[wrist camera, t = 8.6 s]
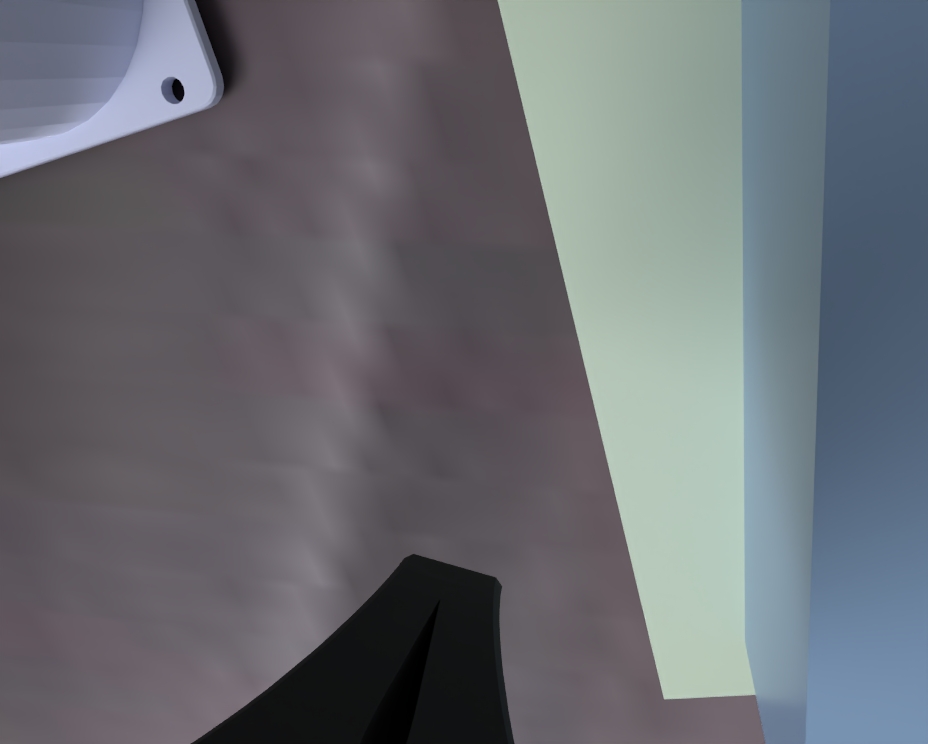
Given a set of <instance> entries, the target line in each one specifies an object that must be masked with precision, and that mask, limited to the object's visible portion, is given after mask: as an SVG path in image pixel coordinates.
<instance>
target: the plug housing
mask: <svg viewBox="0 0 928 744" xmlns="http://www.w3.org/2000/svg"><path fill="white" fill-rule="evenodd" d="M741 13H742V193H743V373H744V553H745V644H746V649H747V654H748V659H749V664H750V669H751V674H752V679H753V684H754V689H755V694H756V698H757V703H758V708H759V713H760V718H761V723H762V728H763V733H764V738H765V743H766V744H928V0H741Z"/></svg>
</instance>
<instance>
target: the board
mask: <svg viewBox="0 0 928 744" xmlns="http://www.w3.org/2000/svg"><path fill="white" fill-rule="evenodd" d="M498 3H499V7H500V12H501V16H502V20H503V24H504V28H505V33H506V37H507V41H508V45H509V49H510V54H511V58H512V62H513V66H514V70H515V75H516V79H517V83H518V87H519V91H520V96H521V100H522V104H523V108H524V112H525V117H526V121H527V125H528V129H529V133H530V138H531V142H532V146H533V150H534V154H535V159H536V163H537V167H538V171H539V175H540V180H541V184H542V188H543V192H544V196H545V201H546V205H547V209H548V213H549V217H550V222H551V226H552V230H553V234H554V238H555V243H556V247H557V251H558V255H559V259H560V264H561V268H562V272H563V276H564V280H565V285H566V289H567V293H568V297H569V301H570V306H571V310H572V314H573V318H574V322H575V327H576V331H577V335H578V339H579V343H580V348H581V352H582V356H583V360H584V364H585V369H586V373H587V377H588V381H589V385H590V390H591V394H592V398H593V402H594V406H595V411H596V415H597V419H598V423H599V427H600V432H601V436H602V440H603V444H604V448H605V453H606V457H607V461H608V465H609V469H610V474H611V478H612V482H613V486H614V490H615V495H616V499H617V503H618V507H619V511H620V516H621V520H622V524H623V528H624V532H625V537H626V541H627V545H628V549H629V553H630V558H631V562H632V566H633V570H634V574H635V579H636V583H637V587H638V591H639V595H640V600H641V604H642V608H643V612H644V616H645V621H646V625H647V629H648V633H649V637H650V642H651V646H652V650H653V654H654V658H655V663H656V667H657V671H658V675H659V679H660V684H661V688H662V692H663V696H664V699H680V698H699V697H719V696H739V695H756V694H755V689H754V684H753V679H752V674H751V669H750V664H749V659H748V654H747V649H746V644H745V553H744V373H743V193H742V13H741V0H498Z"/></svg>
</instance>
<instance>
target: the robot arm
mask: <svg viewBox="0 0 928 744" xmlns="http://www.w3.org/2000/svg"><path fill="white" fill-rule="evenodd" d="M175 79H178V80H180V82H181V83H182V85H183V87H184V92H185V95H184V98H183V100H182V101H181V102H180V101H178V100H177V99H176V98H175V96H174V95H173V92H172V84H173V81H174V80H175ZM223 90H224V83H223V78H222V74H221V71H220V69H219V66H218V63H217V60H216V57H215V55H214V52H213V49H212V46H211V44H210V41H209V38H208V35H207V33H206V30H205V27H204V24H203V22H202V19H201V16H200V13H199V10H198V8H197V5H196V2H195V0H0V178H2V177H5V176H8V175H11V174H14V173H17V172H20V171H23V170H26V169H29V168H32V167H35V166H38V165H41V164H44V163H47V162H50V161H53V160H56V159H59V158H62V157H65V156H68V155H71V154H74V153H77V152H80V151H83V150H86V149H89V148H92V147H95V146H98V145H101V144H103V143H106V142H109V141H112V140H115V139H118V138H121V137H124V136H127V135H130V134H133V133H136V132H139V131H142V130H145V129H148V128H151V127H154V126H157V125H160V124H163V123H166V122H169V121H172V120H175V119H178V118H181V117H184V116H187V115H190V114H193V113H196V112H199V111H202V110H205V109H208V108H211V107H213V106H214V105H216V104H217V103H218V102H219V101H220V99H221V97H222V96H223ZM501 589H502V586H501V584H500V583H499V581H498V580H497V578H496V577H492V576H489V575H485V574H482V573H478V572H475V571H471V570H468V569H464V568H461V567H457V566H454V565H450V564H447V563H443V562H440V561H436V560H433V559H429V558H426V557H422V556H419V555H415V554H412V555H410V556H408V557H406V558H404V560H403V561H402V562H401V563H400V565H399V566H398V567H397V568H396V570H395V571H394V572H393V573H392V574H391V575H390V577H389V578H388V579H387V580H386V581H385V582H384V583H383V584H382V586H381V587H380V588H379V589H378V590H377V591H376V592H375V593H374V594H373V595H372V596H371V597H370V598H369V599H368V600H367V601H366V602H365V603H364V604H363V605H362V606H361V607H360V608H359V609H358V610H357V611H356V612H355V613H354V614H353V615H352V616H351V617H350V618H349V619H348V620H347V621H346V622H345V623H343V624H342V625H341V626H340V627H339V628H338V629H337V630H336V631H335V632H334V633H333V634H332V635H331V636H330V637H329V638H327V639H326V640H325V641H324V642H323V643H322V644H321V645H320V646H319V647H318V648H316V649H315V650H314V651H313V652H312V653H311V654H309V655H308V656H307V657H306V658H305V659H303V660H302V661H301V662H300V663H298V664H297V665H296V666H295V667H294V668H292V669H291V670H290V671H289V672H288V673H286V674H285V675H284V676H283V677H282V678H280V679H279V680H278V681H277V682H275V683H274V684H273V685H272V686H271V687H269V688H268V689H267V690H265V691H264V692H263V693H262V694H260V695H259V696H258V697H256V698H255V699H254V700H252V701H251V702H250V703H248V704H247V705H246V706H244V707H243V708H242V709H240V710H239V711H238V712H236V713H235V714H233V715H232V716H231V717H229V718H228V719H226V720H225V721H223V722H222V723H221V724H219V725H218V726H216V727H215V728H213V729H212V730H211V731H209V732H208V733H206V734H205V735H203V736H202V737H200V738H199V739H197V740H196V741H194V742H193V743H191V744H514V740H513V734H512V729H511V723H510V718H509V712H508V705H507V698H506V691H505V683H504V676H503V668H502V659H501V646H500V628H499V608H500V595H501Z"/></svg>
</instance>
